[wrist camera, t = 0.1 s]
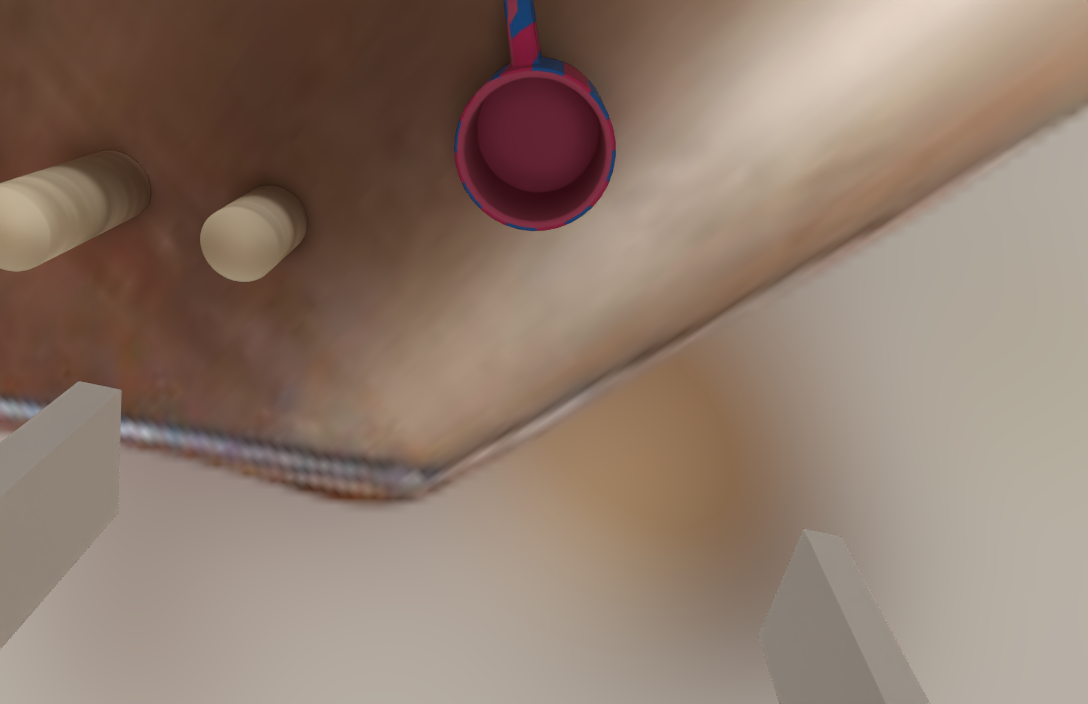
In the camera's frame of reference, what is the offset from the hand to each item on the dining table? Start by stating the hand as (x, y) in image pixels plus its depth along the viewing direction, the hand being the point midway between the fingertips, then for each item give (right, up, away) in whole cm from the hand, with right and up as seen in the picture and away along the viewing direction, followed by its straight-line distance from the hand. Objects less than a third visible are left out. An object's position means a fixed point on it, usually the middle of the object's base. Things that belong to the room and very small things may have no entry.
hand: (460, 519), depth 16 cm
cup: (+1, +16, +24) cm, 29 cm away
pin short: (-12, +10, +26) cm, 31 cm away
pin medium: (-20, +12, +26) cm, 35 cm away
